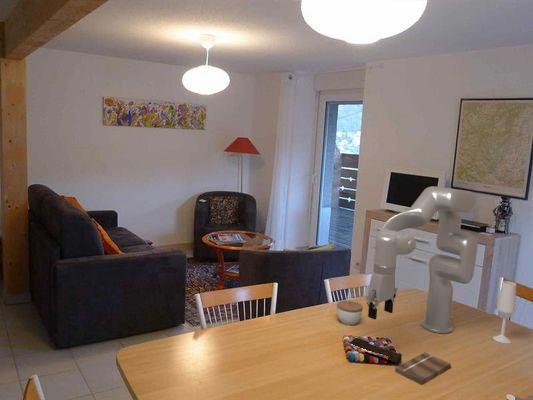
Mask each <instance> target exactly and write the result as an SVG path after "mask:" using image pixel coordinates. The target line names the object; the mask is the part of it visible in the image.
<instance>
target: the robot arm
mask: <svg viewBox="0 0 533 400" xmlns="http://www.w3.org/2000/svg"><path fill="white" fill-rule="evenodd" d="M475 205H476V196H475V194H474V193H473V192H472V191H469V190H463V189H455V188H450V187H443V186H434V185H433V186H432V185H431V186H428V187H426V188H424V190H423V191H422V192H421V193H420V195H419V196H418V197H417V199H416V200H415V201H414V203H413V204H411V207H410V208H409V209H407V210H404V211H402V212H400V213H397V214H395V215H393V216H392V217H390V218H389V219H387V220H386V221H385V222H384V224H383V225H382V226H381V227H380V229H379V230H378V231H377V232H378V233H376V238H375V247H374V256H373V257H374V259H373V267H372V268H373V269H372V270H373V271H372V273H371V276H370V281H369V286H368V293H367V296H366V297H365V301H366V304H367V307H368V311H367V317H368V318H370V319H372V320H375V321H376V320H377V316H378V315H377V314H378V308H377V307H378V306H379V303H383V302H384V307H383V308H384V309H383V310H384V312H386V313H389V314H393V312H394V311H393V310H394V303H395V299H396V296H397V292H398V288H397V287H396V267H397V266H396V265H397V256H398V255H401V256H402V255H410V254H411V253H413V252H414V251H415V249H416V246H417V241H416V239H415V237H414V236H413V235H411V234H410V233H406V232H401V231H402V230H406V229H411V228H413V229H414V228H418V227H423V226H427V224H429V223H430V221H432V219H433V217H434V216H435V214H436V213H437V212H438V213H437V214H438V216H439V218H438V219H439V220H438V226H437V234H436V242H435V245H436V248H437V249H438V250H439V251H441V252H442V253H443V252H444V253H448V254H453V255H455V256H459V258H458V257H454V256H451V255H446V254H442V253H440V254H439V253H438V254H434V255H432V256H431V258H430V259H429V261H428V273H429V282H428V283H429V284H428V291H427V292H428V293H427V301H426V302H427V304H426V311H425V319H422V320H421V322H420V325H421V327H422V328H423V329H425V330H427V331H429V332H432V333H437V334H449V333H451V332H452V331H453V328H454V327H453V326H452V325H451V324H450V321H451V320H453V319H454V317H453V315H451V311H452V302H453V295H454V294H453V293H454V287H453V283H452V282H456V283H459V284H463V285H465V284H466V285H467V284H469V283H471V281H472V279H473V277H474V272H475V269H476V260H477V253H478V247H479V246H478V245H479V244H478V239H477V238H476V236H475V235H473V234H471V233H467V232H462V231H461V226H462V216H461V214H460V213H470V212H471V211H472V210H473V209H475Z"/></svg>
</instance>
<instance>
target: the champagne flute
mask: <svg viewBox="0 0 533 400" xmlns="http://www.w3.org/2000/svg"><path fill="white" fill-rule="evenodd" d="M516 300H517V283H516V282H513V281H508V280H505V281H504V280H503V281H502V284H501V289H500V293H499V297H498V299H497V304H496V309H497V312H498V313H499V314H500V316H502V324H501V332H500V334H498V335H495V336H492V339H493V340H494V341H496V342H498V343H501V344H511V343H512V341H511V339H509V338H508V337H506V336H505V330H506V324H507V318H509V317H511V316H513V315H514V314H515V313H516V305H517V304H516V303H517V301H516Z"/></svg>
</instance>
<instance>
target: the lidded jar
mask: <svg viewBox="0 0 533 400" xmlns="http://www.w3.org/2000/svg"><path fill="white" fill-rule="evenodd" d="M336 306H337V307H336V313H337V317H338V319H339V320H340V322H341V324H343V325H346V326H355V325H356V324H357V323H358V322H360V320H361V317H362V314H363V307H364V306H363V305H362V303H360V302H357V301H355V300H340V301H338V302H337V303H336Z"/></svg>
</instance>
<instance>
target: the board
mask: <svg viewBox="0 0 533 400" xmlns="http://www.w3.org/2000/svg"><path fill="white" fill-rule="evenodd" d="M451 365H452V364H451V363H450V362H448V361H446V360H444V359H441V358H439V357H436V356H435V355H433V354H429V353H428V352H423V353H421V354H419V355H417V356H415V357H413V358H411V359H409V360H407V361H406V362H404V363H400V364H399V365H398V366H397V365H396V367H395V368H394V373H397V374H398V375H401V376H403V377H405V378H407V379H409V380H410V381H413V382H415V383H417V384H420V385H423V384H425V383H427V382H429V381H430V380H432V379H433V378H436V377H437V376H438V375H439V376H440V375H441V374H442V373H444V372H445V371H447V370H449V369H451Z"/></svg>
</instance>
